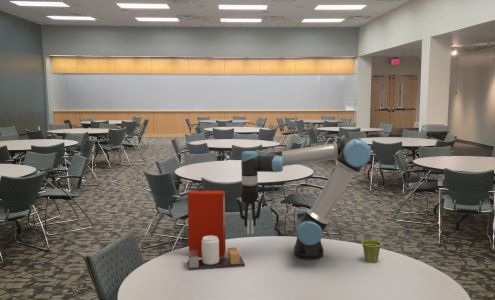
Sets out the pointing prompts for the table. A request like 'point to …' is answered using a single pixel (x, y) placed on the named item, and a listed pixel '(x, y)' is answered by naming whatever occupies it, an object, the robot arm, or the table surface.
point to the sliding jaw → (233, 255)
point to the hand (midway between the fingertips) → (250, 232)
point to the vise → (198, 265)
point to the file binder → (206, 218)
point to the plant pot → (371, 250)
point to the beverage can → (210, 250)
